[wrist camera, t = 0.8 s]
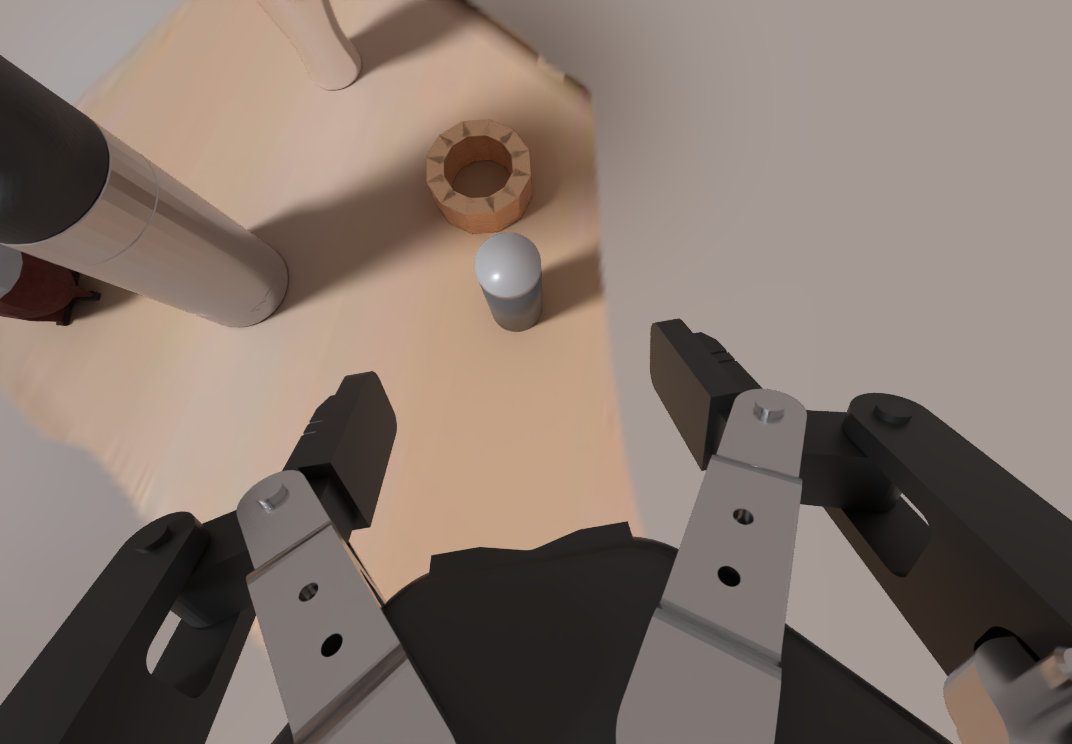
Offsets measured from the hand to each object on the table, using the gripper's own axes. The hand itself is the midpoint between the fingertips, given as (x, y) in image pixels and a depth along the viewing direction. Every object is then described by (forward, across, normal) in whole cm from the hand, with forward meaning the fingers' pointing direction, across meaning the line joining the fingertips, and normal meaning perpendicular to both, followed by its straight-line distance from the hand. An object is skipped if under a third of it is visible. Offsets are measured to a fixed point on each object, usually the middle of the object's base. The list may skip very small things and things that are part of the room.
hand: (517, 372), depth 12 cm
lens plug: (+27, 0, +10) cm, 29 cm away
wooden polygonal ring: (+36, +2, +1) cm, 37 cm away
